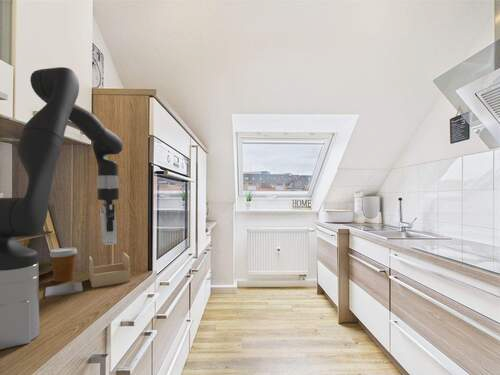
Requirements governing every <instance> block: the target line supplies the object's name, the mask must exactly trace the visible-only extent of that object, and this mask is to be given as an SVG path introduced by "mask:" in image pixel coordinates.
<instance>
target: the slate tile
mask: <svg viewBox="0 0 500 375" xmlns="http://www.w3.org/2000/svg"><path fill="white" fill-rule="evenodd" d="M82 292H84V288H83V284H82V281H80V282H79V281H78V282H72V283H65V284H60V285H53V286H46V287H45V291H44V299H48V298H53V297H58V296H65V295H71V294H77V293H82Z"/></svg>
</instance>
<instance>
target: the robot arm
mask: <svg viewBox="0 0 500 375" xmlns="http://www.w3.org/2000/svg"><path fill="white" fill-rule="evenodd" d="M29 80H30V81H29V82H30V85H31V88H32V90H33V91H34V93H35V94H36V95H37V96H38V98H40V100H42V101H43V102H44V103H45V105H44V106H43V107H42V108H40V110H38V111H37V112H36V113H35V114H34V115H33V116H32V117H31V118H30V119H29V120H28V121H27V122H26V123H25V125H24V127H23V128H22V131H21V135H20V136H19V140H18V144H17V147H16V148H17V149H16V150H17V156H18V158H19V160H20V163H21V165H22V166H23V169H24V170H25V172H26V175H27V178H28V180H27V181H28V182H27V189H26V192H25V194H24V196H23V197H0V350H4V349H8V348H13V347H17V346H21V345H26V344H30V343H31V341H32V340H33V339H36V338H37V337H38V336H39V335H40V300H39V299H40V297H39V296H40V290H39V289H40V288H39V286H40V283H39V274H40V272H39V252H38V251H37V250H35V249H33V248H29V247H27V246H25V245H23V244H21V243H20V242H19V241H18V238H19V237H20V238H21V237H25V238H26V237H33V236H37V235H38V234H40V232H42V230H43V229H44V226H45V224H46V221H47V217H48V212H49V205H50V204H49V203H50V198H51V190H52V184H53V179H54V176H55V172H56V168H57V164H58V159H59V157H60V153H61V149H62V146H63V141H64V136H65V133H66V129H67V127H68V122H71V123H72V124H74V126H76V127H77V128H78V129H79V131H80V132H81V133H83V135H84V136H86V138H87V139H88V140H90V141H91V142H92V150H93V153H94V156H95V160H96V164H97V182H96V183H97V187H96V188H97V200H98V201H104V202H103V203H102V213H105V216H106V222H107V232H112V231H113V222H112V221H114V219H115V218H114V214H115V213H116V212H115V207H116V206H115V204H114V202H113V201H115V200H117V201H118V200H119V198H120V191H119V188H120V183H119V168H118V167H119V166H118V165H119V164H118V162H117V161H115V160H109V158H108V157H107V155H117V154H121V152H122V151H123V148H124V146H123V142H122V139H121V138H120V137H119V136H118V135H117V134H116V133H114V132H113V131H111V130H110V129H108V128H106V127H105V125H104V124H103V123H102V122H101V121H100V120H99V119H98V117H97V116H96V115H95V114H93V113H92V112H90V111H88V110H86V109H84V108H83V107H81V106H79V105H77V104H76V102H77V98H78V96H79V92H80V82H79V78H78V76H77V74H76V72H75V71H73V70H72V69H71V68H68V67H64V66H63V67H62V66H59V67H49V68H42V69H37V70H35V71H33V72H32V73H31V75H30V79H29ZM109 216H112V217H109Z"/></svg>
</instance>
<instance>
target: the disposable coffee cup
mask: <svg viewBox="0 0 500 375" xmlns="http://www.w3.org/2000/svg"><path fill="white" fill-rule="evenodd" d="M77 254H78V250H77V247H60V248H54V249H53V248H52V249H51V250H50V253H49V256H50V260H51V267H52V274H53V279H54V282H55V283H65V282H70V281H72V280H74V276H75V268H76V259H77Z"/></svg>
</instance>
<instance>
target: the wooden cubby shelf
mask: <svg viewBox="0 0 500 375" xmlns="http://www.w3.org/2000/svg"><path fill="white" fill-rule="evenodd" d="M88 259H89V260H88V261H89V264H88V265H89V268H88V273H89V277H88V279H89V282H90V285H91V288H92V289H93V288H99V287H105V286H111V285H118V284H123V283H129V282H131V265H130V264H131V262H130V260H131V259H130V256H129V255H128V254H126V252H122V262H121V263H113V264H107V265H106V264H105V265H98V266H94V260H93V258H92V256H89V258H88Z"/></svg>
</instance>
